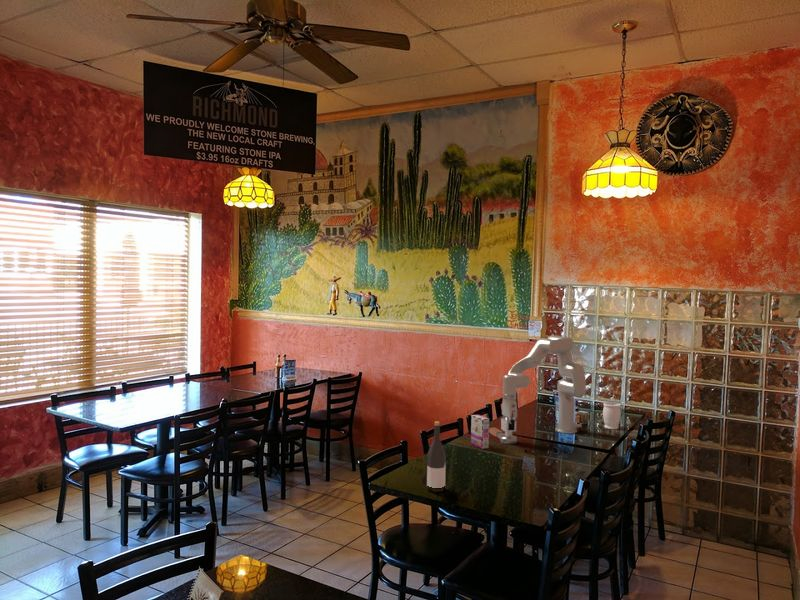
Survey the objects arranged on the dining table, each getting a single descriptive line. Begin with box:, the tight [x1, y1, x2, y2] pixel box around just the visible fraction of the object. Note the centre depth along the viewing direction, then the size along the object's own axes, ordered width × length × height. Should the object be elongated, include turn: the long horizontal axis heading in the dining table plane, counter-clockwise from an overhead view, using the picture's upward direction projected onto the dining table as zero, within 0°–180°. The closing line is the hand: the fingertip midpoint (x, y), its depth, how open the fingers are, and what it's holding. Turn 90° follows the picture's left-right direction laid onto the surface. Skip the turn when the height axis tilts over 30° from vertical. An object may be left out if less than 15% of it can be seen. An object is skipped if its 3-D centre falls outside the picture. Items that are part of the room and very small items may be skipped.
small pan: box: [489, 426, 518, 445], centre depth 341 cm, size 9×26×7 cm, turn 17°
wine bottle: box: [426, 421, 447, 488], centre depth 259 cm, size 8×8×30 cm
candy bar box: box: [470, 414, 491, 450], centre depth 324 cm, size 11×5×16 cm, turn 27°
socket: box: [500, 417, 517, 433], centre depth 333 cm, size 6×6×7 cm
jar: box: [602, 401, 622, 430], centre depth 367 cm, size 11×10×15 cm
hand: (508, 428), depth 333 cm, fingers closed on socket, 6 cm apart
